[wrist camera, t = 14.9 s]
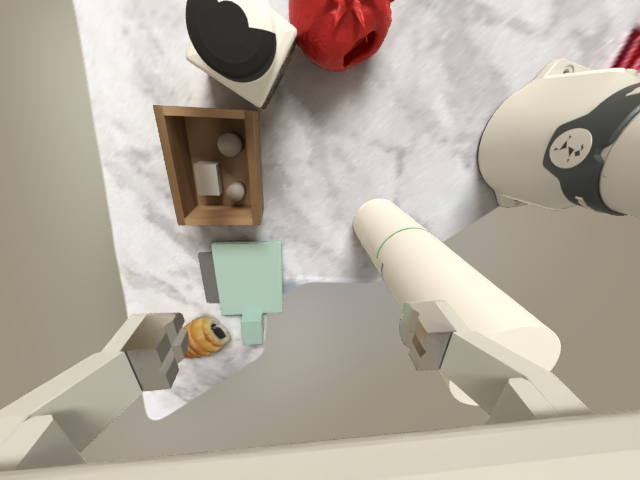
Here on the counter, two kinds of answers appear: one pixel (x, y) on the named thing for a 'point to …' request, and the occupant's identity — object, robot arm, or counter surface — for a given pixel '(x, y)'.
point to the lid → (249, 283)
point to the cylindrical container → (448, 285)
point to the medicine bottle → (240, 45)
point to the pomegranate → (340, 30)
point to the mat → (208, 276)
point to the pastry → (205, 337)
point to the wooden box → (212, 164)
